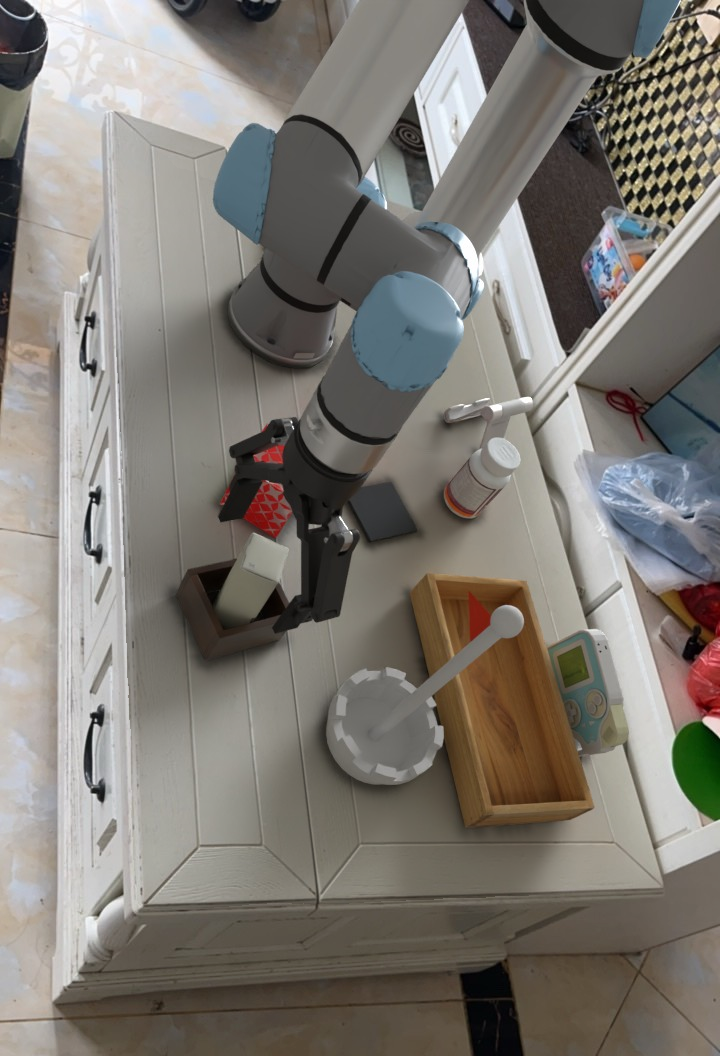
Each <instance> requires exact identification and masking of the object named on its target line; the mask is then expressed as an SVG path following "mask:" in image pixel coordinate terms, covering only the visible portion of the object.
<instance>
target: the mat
mask: <svg viewBox="0 0 720 1056" xmlns="http://www.w3.org/2000/svg"><path fill="white" fill-rule="evenodd" d="M347 504H348V506H349V507H350V509H351V511H352V513H353V515H354V516H355V518H356V520H357V522H358V524H359V526H360V528H361V529H362V532H363V533H364V535H365V537H366V539H367V541H368V543H369V544H372V543H375V542H380V541H384V540H388V539H392V538H397V537H401V536H406V535H410V534H414V533H418V531H419V529H418V527H417V524H415V521H414V520H413V518H412V516H411V514H410V512H409V511H408V509H407V507H406V505H405V503H404V501H403V500H402V498H401V496H400V495H399V493H398V491H397V489H396V487H395V485H394V484H393V482H392V481H387V482H383V483H377V484H371V485H366V486H361V488H360V489H359V491H358V492H357V493H356V494H355V495H354V496H353V497H352V498H351V499H350V500H349V501H348V502H347Z"/></svg>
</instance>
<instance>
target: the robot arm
mask: <svg viewBox="0 0 720 1056" xmlns="http://www.w3.org/2000/svg"><path fill="white" fill-rule="evenodd" d="M469 2H470V0H358V1H357V3H356V4H355V6H354V7H353V9H352V11H351V12H350V14H349V15H348V17H347V19H346V20H345V22H344V24H343V25H342V27H341V29H340V30H339V32H338V33H337V35H336V36H335V38H334V39H333V41H332V43H331V45H330V47H329V48H328V49H327V51H326V53H325V54H324V56H323V58H322V59H321V60H320V62H319V64H318V66H317V67H316V69H315V71H314V72H313V74H312V75H311V77H310V78H309V80H308V82H307V83H306V85H305V87H304V88H303V90H302V91H301V93H300V95H299V97H298V98H297V99H296V101H295V102H294V104H293V106H292V107H291V109H290V111H289V112H288V114H287V115H286V117H285V119H284V120H283V123H282V125H281V127H280V128H279V129H278V130H277V132H276V130H274V129H273V130H272V129H271V128H268V127H267V128H266V127H265V126H263V125H261V124H260V123H257V122H251V123H249V124H248V125H246V126H245V127H243V129H242V131H239V133H238V134H237V135H236V138H235V139H234V140H233V141H232V143H231V145H230V147H229V149H228V150H227V152H226V155H225V157H224V159H223V161H222V163H221V166H220V168H219V170H218V172H217V176H216V179H215V182H214V186H213V192H212V193H213V194H212V204H213V207H214V210H215V212H216V213H217V215H218V216H219V217H220V218H222V219H223V220H224V221H225V222H227V223H228V224H229V225H231V226H232V227H233V228H235V229H236V230H237V231H239V232H240V233H241V234H242V235H243V236H245V237H246V238H248V239H249V240H250V241H251V242H252V243H253V244H255V245H256V246H258V245H260V246H261V247H263V248H265V249H264V252H263V254H262V257H261V258H260V261H259V262H258V263H257V264H256V266H254V267H253V268H252V269H251V271H250V272H249V273H248V274H247V275H246V277H245V278H243V279H242V280H241V281H240V282H239V283H238V284H237V286H236V287H235V288H234V289H233V291H232V293H231V296H230V298H229V302H228V305H227V316H228V320H229V324H230V326H231V328H232V330H233V332H234V333H235V335H236V336H237V337H238V339H239V340H240V341H241V342H242V343H243V344H244V345H245V347H247V348H248V349H249V350H250V351H252V352H253V353H254V354H255V355H257V356H259V357H261V358H262V359H264V360H266V361H268V362H270V363H272V364H275V365H278V366H281V367H286V368H292V369H304V368H309V367H313V366H316V365H318V364H319V363H320V362H322V361H323V360H324V359H325V358H326V356H327V354H328V353H329V350H330V349H331V347H332V345H333V342H334V337H335V328H336V324H337V323H336V322H337V315H338V305H339V304H340V302H341V303H343V304H344V305H346V306H348V308H350V309H352V310H354V311H355V312H356V313H355V315H354V317H353V318H352V321H351V324H350V326H349V328H348V330H347V332H346V333H345V336H344V338H343V339H342V340H341V343H340V345H339V346H338V348H337V351H336V353H335V355H334V356H333V357H332V358H333V359H332V360H331V363H330V364H329V366H328V368H327V370H326V371H325V374H324V375H323V377H322V378H321V380H320V382H319V383H318V385H317V387H316V388H315V391H314V392H313V394H312V396H311V398H310V400H309V402H308V403H307V405H306V407H305V408H304V411H303V412H302V415H301V416H300V418H299V419H298V417H296V416H292V417H283V418H275V419H271V420H270V422H269V423H267V424H268V426H267V427H266V429H265V430H264V431H263V432H262V431H261V432H258V433H256V434H254V435H252V436H250V437H248V438H246V439H243V440H241V441H239V442H237V443H234V444H232V445H230V446H229V448H228V453H229V456H230V458H231V459H235V462H236V464H235V465H234V475H233V476H234V477H233V476H232V478H233V479H232V478H231V480H232V481H231V480H230V482H231V483H229V484H230V485H229V484H228V486H229V491H230V494H229V496H228V497H227V499H226V501H225V503H224V505H223V506H222V507H221V509H220V511H219V513H218V515H217V518H218V520H219V522H220V523H221V524H222V523H227V522H232V521H238V520H242V519H243V518H244V516H245V514H246V512H247V510H248V508H249V507H250V505H251V503H252V501H253V499H254V498H255V496H256V494H257V492H258V490H259V488H260V487H261V485H262V483H263V481H262V480H265V481H269V482H270V483H278V484H281V485H283V490H284V492H283V495H284V497H285V499H286V501H287V502H288V503H289V505H290V506H291V509H292V515H293V517H294V518H295V520H296V537H297V539H299V540H300V594H296V595H294V596H293V597H292V599H291V600H290V601H289V602H290V603H289V605H288V606H287V607H286V609H285V610H284V612H283V613H282V614H281V616H280V617H279V618H278V620H277V621H276V623H275V624H274V625H273V627H272V629H273V631H274V633H275V634H277V633H280V632H284V631H286V632H288V631H291V630H294V629H297V628H299V626H300V625H302V624H305V623H309V622H312V621H313V622H314V623H315V624H316V623H317V624H318V623H321V622H326V621H329V620H332V619H335V618H336V619H337V618H339V617H340V616H341V612H342V607H343V603H344V602H343V601H344V597H345V591H346V588H347V583H348V582H347V581H348V577H349V572H350V566H351V560H352V556H353V552H354V550H355V549H356V547H357V545H358V543H359V542H360V539H361V533H360V531H359V530H358V529H357V528H352V529H348V527H347V525H346V523H345V521H343V519H342V516H343V512H344V511H343V510H344V507H345V505H346V504H348V501H349V500H350V499H351V498H352V497H353V496H354V495H355V494H356V493H357V492H358V491H359V489H360V488H361V487H363V485H364V483H365V482H366V481H367V479H368V478H369V477H370V475H371V474H372V472H373V471H374V469H375V468H376V466H377V465H378V464H379V463H380V462H381V460H382V458H383V457H384V455H385V454H386V453H387V452H388V450H389V448H390V447H391V446H392V444H393V442H394V441H395V439H396V438H397V437H398V435H399V433H400V431H401V430H402V429H403V426H404V425H405V423H406V422H407V420H408V419H409V418H410V416H411V415H412V414H413V412H414V411H415V410H416V408H417V407H418V406H419V404H420V403H421V401H422V400H423V399H424V397H425V396H426V395H427V393H428V392H429V391H430V390H431V388H432V387H433V385H434V384H435V382H436V381H437V380H439V379H440V378H441V377H442V376H443V375H444V374H445V372H446V371H447V369H448V367H449V363H450V362H451V360H452V358H453V357H454V354H455V352H456V351H457V349H458V347H459V346H460V345H461V343H462V340H463V337H464V336H463V335H464V333H465V332H464V331H465V328H464V327H465V326H464V325H465V324H464V321H465V319H466V318H468V316H469V315H470V314H471V312H472V311H473V310H474V308H475V306H476V305H477V303H478V301H479V300H480V298H481V297H482V294H483V292H484V289H485V283H484V281H483V280H482V279H481V276H482V274H483V271H484V258H483V254H482V252H483V250H484V249H485V247H486V246H487V244H488V243H489V242H490V240H491V239H492V237H493V236H494V234H495V233H496V231H497V229H498V228H499V227H500V225H501V224H502V221H503V220H504V219H505V217H506V216H507V215H508V213H509V211H510V210H511V209H512V206H514V204H515V202H516V200H517V199H518V197H519V196H520V194H521V193H522V192H523V190H524V189H525V187H526V186H527V184H528V182H529V181H530V179H531V178H532V177H533V175H534V173H535V172H536V170H537V169H538V167H539V166H540V164H541V163H542V162H543V159H544V158H545V157H546V155H547V153H548V152H549V150H550V149H551V147H552V146H553V144H554V143H555V142H556V140H557V139H558V136H559V135H560V134H561V132H562V131H563V129H564V128H565V126H566V125H567V124H568V121H569V120H570V119H571V117H572V116H573V114H574V112H575V111H576V109H577V108H578V107H579V105H580V103H581V102H582V100H583V99H584V98H585V96H586V95H587V93H588V92H589V90H590V88H592V85H593V84H594V83H595V81H596V79H597V78H598V77H601V76H605V75H611V74H615V73H617V72H619V71H620V70H621V69H622V68H623V66H624V65H625V63H626V62H627V60H629V58H630V57H631V55H632V56H634V57H635V58H641V59H647V58H649V56H651V54H652V52H653V51H654V49H655V47H656V46H657V44H658V43H659V42H660V40H661V38H662V36H664V35H663V34H664V33H665V31H666V29H667V27H668V26H669V24H670V22H671V20H672V18H673V17H674V15H675V13H676V11H677V9H678V7H679V6H680V3H681V2H682V0H523V7H524V12H525V17H526V25H525V27H524V28H523V30H522V32H521V34H520V36H519V37H518V39H517V41H516V43H515V45H514V46H513V48H512V50H511V52H510V53H509V55H508V57H507V59H506V60H505V63H504V64H503V65H502V68H501V70H500V71H499V73H498V75H497V77H496V78H495V80H494V82H493V84H492V86H491V87H490V89H489V91H488V93H487V95H486V96H485V98H484V99H483V102H482V103H481V105H480V107H479V108H478V111H477V112H476V114H475V116H474V118H473V120H472V121H471V123H470V125H469V127H468V129H467V130H466V132H465V134H464V136H463V137H462V139H461V141H460V142H459V144H458V146H457V148H456V150H455V152H454V154H453V155H452V157H451V159H450V161H449V163H448V164H447V166H446V168H445V169H444V171H443V173H442V175H441V176H440V178H439V180H438V181H437V184H436V186H435V188H434V189H433V190H432V193H431V194H430V195H429V198H428V200H427V202H426V203H425V205H424V206H423V209H422V210H421V211H415V212H411V213H408V214H407V215H406V216H405V217H404V218H403V219H401V218H400V217H398V216H396V214H394V213H392V211H390V210H388V203H387V199H386V197H385V195H384V193H382V192H380V188H379V186H378V185H377V184H375V183H374V182H373V181H372V180H371V179H369V178H368V177H366V175H367V173H368V172H369V170H370V168H371V166H372V165H373V163H374V161H375V160H376V159H377V156H378V155H379V154H380V152H381V150H382V148H383V146H384V145H385V143H386V141H387V140H388V138H389V137H390V135H391V133H392V132H393V130H394V128H395V126H396V124H397V123H398V121H399V119H400V118H401V117H402V114H403V113H404V111H405V109H406V108H407V106H408V104H409V103H410V101H411V99H412V98H413V96H414V94H415V92H416V91H417V89H418V88H419V86H420V84H421V82H422V81H423V79H424V78H425V76H426V74H427V72H428V71H429V69H430V67H431V65H432V64H433V62H434V60H435V59H436V57H437V56H438V54H439V53H440V51H441V49H442V47H443V46H444V44H445V42H446V40H447V39H448V37H449V35H450V34H451V32H452V30H453V29H454V27H455V25H456V23H457V22H458V20H459V18H460V17H461V15H462V14H463V12H464V10H465V8H466V7H467V5H468V4H469ZM278 445H279V446H283V445H285V446H284V449H283V455H282V459H283V464H277V463H267V462H264V461H258V462H255V459H254V455H256V454H259V453H261V452H263V451H266V450H268V449H271V448H273V447H275V446H278ZM243 520H244V519H243ZM309 525H316V526H317V527H312V528H310V527H309Z"/></svg>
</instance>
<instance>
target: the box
mask: <svg viewBox="0 0 720 1056" xmlns="http://www.w3.org/2000/svg"><path fill="white" fill-rule="evenodd" d="M289 551H290V548H289V547H287V546H285V545H282V544H281V543H278V542H276V541H274V540H272V539H270V538H268V537H265V536H262V535H260V534H258V533H256V532H252V533H251V534H250V535H249V537H248V539H247V541H246V542H245V544H244V546H243V547H242V550H241V552H240V553H239V555H238V556H237V560H236V562H235V564H234V566H233V567H232V569H231V571H230V573H229V575H228V577H227V578H226V580H225V582H224V584H223V586H222V587H221V589H220V590H218V593H217V594H216V597H215V599H214V602H213V604H212V607H213V609H214V611H215V614H216V616H217V618H218V620H219V622H220V624H221V626H222V629H223V630H227V629H230V628H234V627H238V626H242V625H245V624H249V623H253V622H255V620H256V618H257V616H258V615H259V613H260V610H261V609H262V607H263V606H264V604H265V603H266V601H267V599H268V598H269V596H270V595H271V593H272V592H273V590H274V589H275V587H276V586H277V584H278V583H279V582H280V581H281V577H282V575H283V571H284V569H285V567H286V563H287V558H288V555H289Z"/></svg>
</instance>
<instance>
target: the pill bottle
mask: <svg viewBox="0 0 720 1056" xmlns="http://www.w3.org/2000/svg"><path fill="white" fill-rule="evenodd" d="M520 455H521V454H520V452H519V450H518V449H517V448H516V447H515V445H513V443H512V442H510V441H509V440H507V439H505V438H492V439H491V440H489V441H488V443H487V444H486V445H485V446H484V447H483V448H482V449H480V448H479V449H478V450H475V451H474V452H473V453H472V454H471V455H470V457H469V458H468V459H467V460H466V461H465V463H464V464H463V465H462V466H461V467H460V469H459V470H458V471H457V473H456V474H455V475H454V476H453V477H452V478H451V479H450V481H449V482H448V483H447V484H446V486H445V487H444V490H443V500H444V502H445V505H446V506H447V508H448V509H449V510H450V511H451V512H452V513H453V514H455V515H456V516H458V517H460V518H463V519H475V518H476V517H478V516H479V515H480V514H481V513H482V512H483V511H484V510H485V509H486V508H487V507H488V506H489V505H490V503H492V501H493V500H494V499H495V498H496V497H497V496H498V495H499V494H500V493H501V491H503V489H505V487H506V486H507V485H508V484H509V482H510V480H511V478H512V477H511V476H512V474H513V473H514V472H515V471H516V470H517V469H518V468H519V466H520V464H521V456H520Z"/></svg>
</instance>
